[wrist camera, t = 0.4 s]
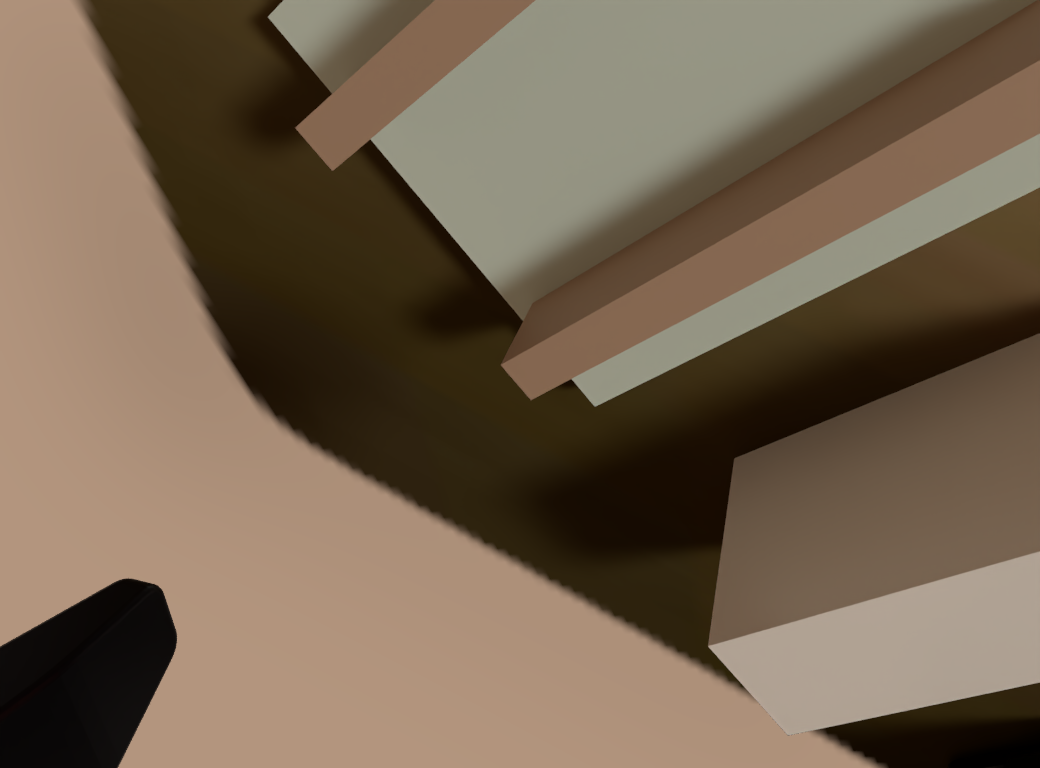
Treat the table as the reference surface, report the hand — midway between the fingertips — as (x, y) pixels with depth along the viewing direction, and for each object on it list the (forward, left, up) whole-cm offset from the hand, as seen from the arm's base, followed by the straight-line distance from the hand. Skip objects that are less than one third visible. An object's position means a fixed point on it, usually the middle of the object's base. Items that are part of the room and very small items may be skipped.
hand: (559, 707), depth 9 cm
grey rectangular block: (-8, -2, -13) cm, 15 cm away
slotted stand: (+3, -2, -13) cm, 13 cm away
